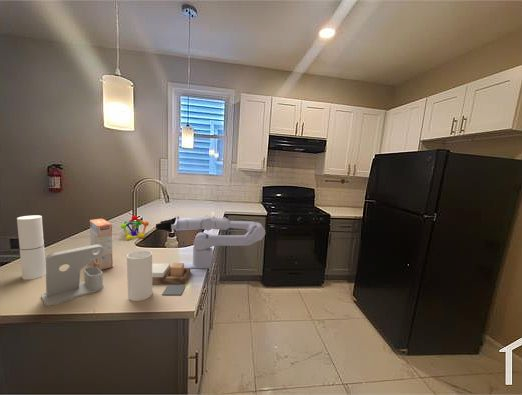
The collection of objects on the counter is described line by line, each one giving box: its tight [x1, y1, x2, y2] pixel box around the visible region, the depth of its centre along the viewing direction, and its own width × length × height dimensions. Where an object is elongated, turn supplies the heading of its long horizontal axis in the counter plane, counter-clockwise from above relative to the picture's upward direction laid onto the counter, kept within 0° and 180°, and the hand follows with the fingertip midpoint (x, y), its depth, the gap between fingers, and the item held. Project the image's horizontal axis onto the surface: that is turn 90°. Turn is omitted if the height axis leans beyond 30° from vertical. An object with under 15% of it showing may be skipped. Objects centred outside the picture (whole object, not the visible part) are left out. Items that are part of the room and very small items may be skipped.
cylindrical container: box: [16, 214, 46, 281], centre depth 95 cm, size 7×7×25 cm
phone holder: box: [40, 244, 104, 307], centre depth 86 cm, size 17×10×18 cm, turn 140°
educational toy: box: [120, 215, 150, 241], centre depth 150 cm, size 16×13×15 cm
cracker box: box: [89, 218, 114, 271], centre depth 109 cm, size 14×6×21 cm, turn 47°
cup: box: [126, 249, 153, 302], centre depth 86 cm, size 8×8×16 cm
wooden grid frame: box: [152, 266, 192, 285], centre depth 101 cm, size 18×10×2 cm, turn 94°
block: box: [170, 262, 185, 277], centre depth 101 cm, size 4×4×6 cm
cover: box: [152, 262, 171, 277], centre depth 100 cm, size 9×9×2 cm
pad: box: [161, 284, 186, 296], centre depth 92 cm, size 7×7×1 cm
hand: (158, 225), depth 109 cm, fingers open, 7 cm apart
